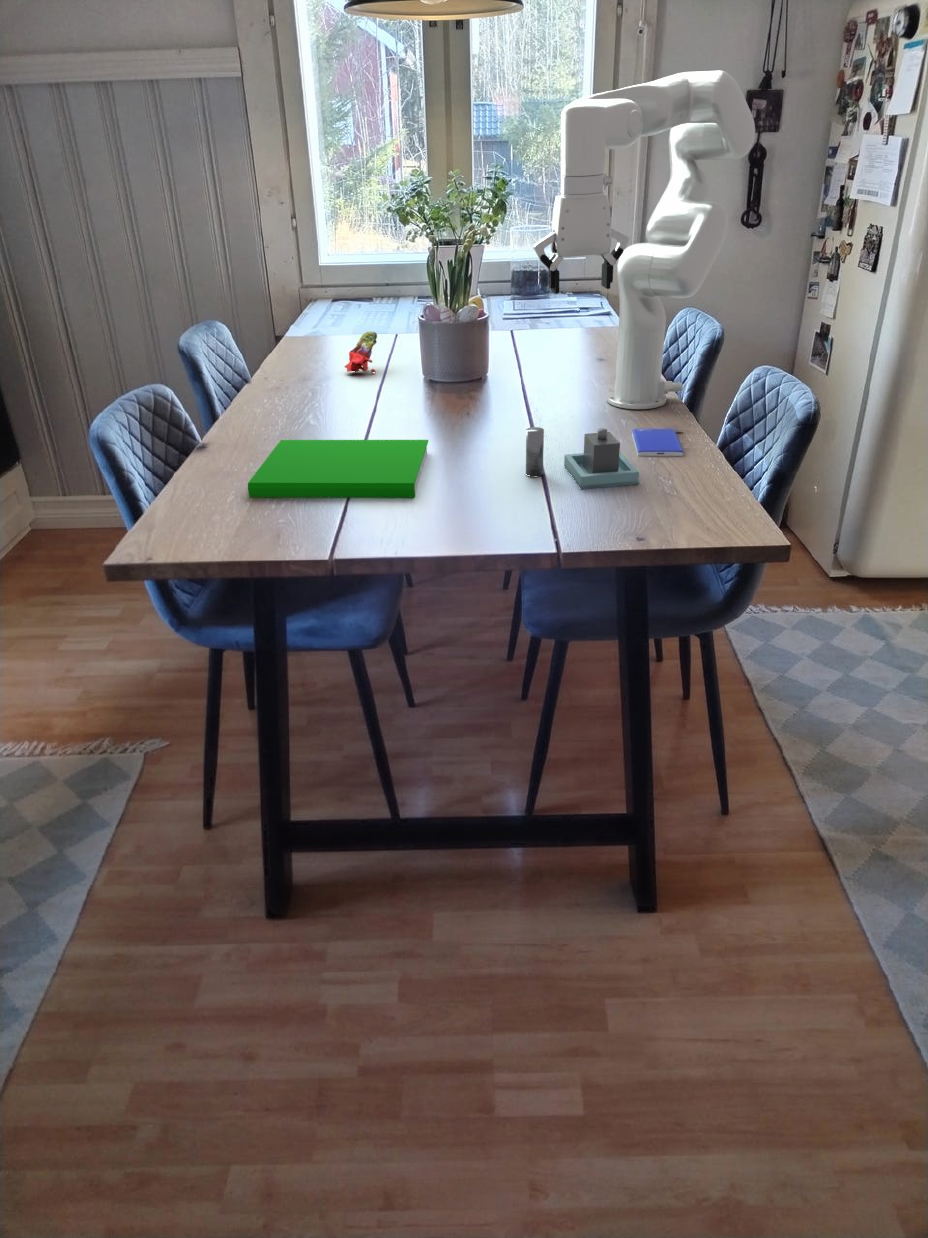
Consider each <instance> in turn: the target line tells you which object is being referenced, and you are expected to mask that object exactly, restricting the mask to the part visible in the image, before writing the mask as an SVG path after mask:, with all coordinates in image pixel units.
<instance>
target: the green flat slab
mask: <svg viewBox="0 0 928 1238" xmlns="http://www.w3.org/2000/svg"><path fill="white" fill-rule="evenodd" d="M428 443H429V439H280V440H279V442H278V443H277V444H276V446H275V447H274V448H273V449H272V451H271V452H270V453H269V455H268V456H267V457H266V459H265V460H264V461H263V462H262V464H261V465H260V466H259V467H258V469H257V470H256V472H255V473H254V474H253V476H252V477H251V478H250V479H249V481H248V482H247V492H248V497H249V498H253V499H254V498H259V499H260V498H267V499H268V498H270V499H271V498H275V499H276V498H283V499H284V498H287V499H289V498H291V499H292V498H294V499H295V498H301V499H302V498H306V499H307V498H313V499H314V498H315V499H317V498H318V499H319V498H321V499H322V498H323V499H324V498H325V499H326V498H327V499H328V498H329V499H334V498H336V499H337V498H338V499H339V498H340V499H343V498H344V499H345V498H347V499H348V498H349V499H352V498H353V499H359V498H361V499H415V498H416V489H417V486H418V483H419V480H420V476H421V472H422V470H423V467H424V463H425V459H426V457H427V453H428Z"/></svg>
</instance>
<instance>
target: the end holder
mask: <svg viewBox="0 0 928 1238" xmlns="http://www.w3.org/2000/svg"><path fill="white" fill-rule="evenodd" d="M563 456H564V457H563V467H564V466H565V467H564V469H565V470H566V469H567V470H568V471H567V470H566V471H567V473H568V472H569V473H570V474H571V475H572V477H573V478H574V479H573V478H572V477H571V478H572V479H573V481H574V480H575V481H576V482H575V481H574V482H575V484H576V483H577V484H578V485H579V486H578V485H577V484H576V485H577V486H578V488H579V487H580V488H581V489H580V488H579V489H580V490H585V489H584V488H589V489H597V488H598V489H599V488H600V487H601V488H609V487H610V488H613V487H620V486H621V487H622V486H632V485H633V486H634V485H639V479H640V477H639V475H640V471H639V470H638V469H637V468H636V467H635V466H634V465H633V464H632V463H631V462H630V461H629V459H627V457H626V456H625V455H624V454H623V453H622V452H621V451H620V453H619V468H618V472H606V473H594V474H588V473H587V471H586V470H585V469H584V467H583V459H584V452H583V453H582V452H581V453H570V454H569V453H568V454H564V455H563ZM569 473H568V474H569ZM570 474H569V475H570ZM571 475H570V476H571Z"/></svg>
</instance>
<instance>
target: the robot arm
mask: <svg viewBox="0 0 928 1238" xmlns="http://www.w3.org/2000/svg"><path fill="white" fill-rule="evenodd" d="M746 100H747V99H746V98H745V95H744V93H743V91H742V90H741V87H740V86H739V84H738V83H737V81H736V80H735V78H734V77H733V76H732V75H731V74H730V73H729V72H727V71H725V70H702V71H683V72H677V73H674V74H671V75H667V76H664V77H662V78H658V79H655V80H653V81H652V80H651V81H649V82H645V83H641V84H640V83H639V84H634V85H631V86H626V87H622V88H619V89H614V90H608V91H604V92H599V93H594V94H591V95H587V96H584V97H580V98H578V99H575V100H573V101H572V102H571V103H570V104H567V105H565V106H564V108H563V109H562V111H561V115H560V117H561V118H560V195H559V194H558V195H555V199H554V203H553V211H552V218H551V219H552V220H551V229H550V230H551V231H550V233H549V234H548V235H546V236H545V237H543V238H541V239H540V240H538V241H537V242H536V243H534V244H533V250H534V251H535V253H536V255H537V258H538V260H539V261H540V262H541V263H542V264H543V265H544V266H545V268H547V269H548V274H547V275H548V278H547V279H548V289H550V291H551V292H552V293H553V294H555V295H558V294H559V293H560V270H558V267H559V266H560V265H561V263H562V262H563V261H564V259H575V258H576V259H577V258H587V257H597V256H600V257H601V258H602V259H603V260H604V261H603V263H602V264H601V276H600V277H601V278H600V279H601V281H600V282H601V284H600V285H601V287H603V288H605V289H607V290H610V289H611V284H612V283H613V282H614V281H613V280H614V266H615V264H617V266H616V276H617V277H616V278H617V285H618V287H617V288H618V295H619V318H618V333H617V349H616V351H617V352H616V366H615V367H616V368H615V383H614V390H613V391H610V392H608V394H607V395H606V396H607V397H606V402H607V403H608V404H610V405H612V406H613V407H617V408H620V409H627V410H649V409H655V408H660V407H662V406H664V405H665V404H666V403H667V394H668V393H669V392H671V393H672V392H673V393H676V392H678V393H679V392H682V391H683V383H682V381H681V382H680V381H679V382H673V381H672V380H667V381H665V380H663V379H662V369H663V359H664V358H663V357H664V349H665V348H664V346H665V335H666V325H667V324H666V323H667V315H666V310H665V308H664V304H663V302H662V300H661V298H660V297H663V298H665V297H666V298H673V299H674V298H675V299H689V298H691V297H693V296H694V295H696V293H698V291H700V289H701V287H702V285H703V284H704V282H705V280H706V278H707V277H708V274H709V272H710V271H711V269H712V266H713V265H714V263H715V261H716V259H717V257H718V255H719V254H720V252H721V250H722V247H723V246H724V244H725V240H726V239H727V238H726V237H727V233H728V228H729V217H728V213H727V210H726V209H725V207H724V206H723V205H721V203H718V202H716V201H711V200H710V201H708V197H709V194H710V185H709V181H708V178H707V176H706V174H705V172H704V171H703V169H702V167H701V164H700V163H701V162H700V161H701V160H705V161H735V160H740V159H742V158H744V157H745V156H746V155H748V153H749V152H750V151H751V150H752V147H753V145H754V142H755V137H756V126H755V125H756V124H755V119H754V117H753V116H754V115H753V114H752V111H751V109H750V108H749V105H748V103H747V101H746ZM668 130H669V135H668V151H669V152H668V153H669V168H670V169H669V171H670V175H669V176H670V177H669V180H668V183H667V186H666V187H665V190H664V192H663V193H662V195H661V197H660V198H659V201H658V202H657V204H656V205H655V206H656V207H655V208H654V210H653V211H652V214H651V215H650V217H649V220H648V222H647V225H646V227H645V228H646V229H645V238H646V241H647V242H640V243H639V242H638V243H634V244H630V245H628V243H629V240H630V238H629V237H628V236H627V235H625V234H624V233H621V232H619V231H618V230H615V229H613V228H612V223H611V221H612V219H611V218H612V216H611V207H610V201H609V196H608V193H607V192H605V191H606V189H607V188H606V187H608V186H612V185H613V177H612V176H608V175H607V174H606V173H605V172H606V169H605V168H606V150H621V149H626V148H629V147H631V146H632V145H634V144H635V143H636V142H637V141H638V139H639V138H642V137H649V136H651V137H652V136H655V135H658V134H660V133H664V132H665V131H668ZM612 238H613V239H614V240H617V243H616V247H615V248H614V249H613V250H612V251H611V246H612ZM627 245H628V246H627ZM548 246H550V250H551V253H552V254H551V256H550V258H549V256H547V254H546V251H545V248H547V247H548ZM610 251H611V252H610Z"/></svg>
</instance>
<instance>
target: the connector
mask: <svg viewBox="0 0 928 1238" xmlns="http://www.w3.org/2000/svg"><path fill="white" fill-rule="evenodd" d="M583 437H584V439H583V440H584V441H583V453H584V459H583V467H584V469H585V470H586V471H587V473H588V474H594V473H606V472H618V468H619V453H620V452H621V449H620V448H621V443H620V441H619V440H618V439H617V438H616V436H614V435H613V434H612V433H611V432H610V431H608V428H603V427H602V428H601V427H600V428H598V429H597V432H592V433H591V432H589V433H584V436H583Z"/></svg>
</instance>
